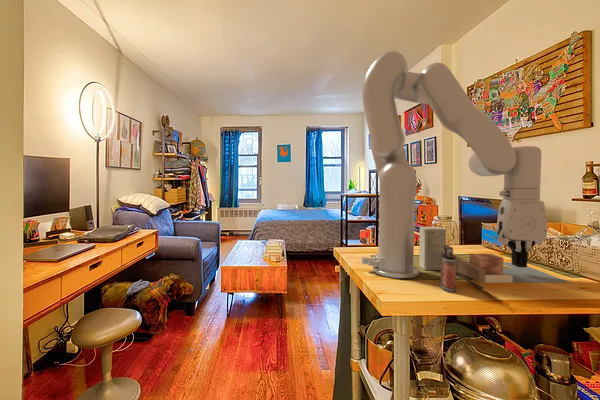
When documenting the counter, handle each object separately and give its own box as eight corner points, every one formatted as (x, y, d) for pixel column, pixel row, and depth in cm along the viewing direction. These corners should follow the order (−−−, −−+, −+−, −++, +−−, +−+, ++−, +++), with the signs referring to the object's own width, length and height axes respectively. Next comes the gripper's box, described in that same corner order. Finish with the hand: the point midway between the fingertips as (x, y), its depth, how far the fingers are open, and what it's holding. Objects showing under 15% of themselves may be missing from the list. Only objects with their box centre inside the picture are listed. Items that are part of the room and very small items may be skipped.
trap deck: (478, 288, 72) (479, 270, 72) (443, 267, 90) (443, 252, 90) (570, 288, 72) (571, 270, 71) (516, 267, 90) (517, 252, 89)
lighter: (458, 293, 69) (460, 250, 68) (442, 292, 70) (443, 249, 69) (452, 282, 76) (453, 243, 76) (437, 281, 77) (438, 242, 77)
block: (478, 277, 75) (479, 258, 75) (469, 272, 80) (469, 253, 80) (502, 277, 75) (503, 258, 75) (491, 272, 80) (492, 253, 79)
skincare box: (438, 266, 91) (439, 226, 90) (445, 270, 87) (447, 228, 86) (418, 266, 91) (419, 226, 90) (424, 270, 87) (425, 228, 86)
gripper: (501, 196, 73) (499, 270, 74) (563, 195, 72) (560, 270, 73) (483, 195, 80) (481, 262, 81) (539, 194, 80) (537, 261, 81)
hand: (519, 265), depth 77 cm, fingers closed
